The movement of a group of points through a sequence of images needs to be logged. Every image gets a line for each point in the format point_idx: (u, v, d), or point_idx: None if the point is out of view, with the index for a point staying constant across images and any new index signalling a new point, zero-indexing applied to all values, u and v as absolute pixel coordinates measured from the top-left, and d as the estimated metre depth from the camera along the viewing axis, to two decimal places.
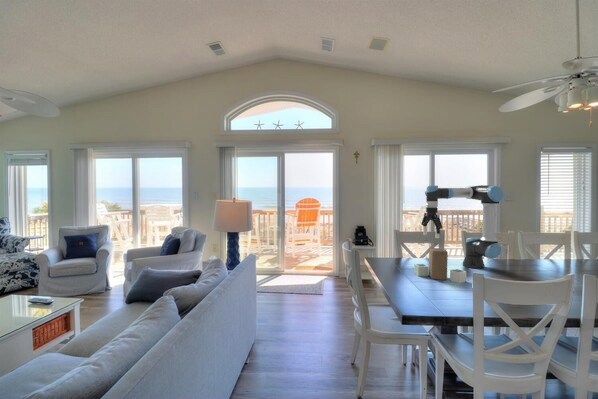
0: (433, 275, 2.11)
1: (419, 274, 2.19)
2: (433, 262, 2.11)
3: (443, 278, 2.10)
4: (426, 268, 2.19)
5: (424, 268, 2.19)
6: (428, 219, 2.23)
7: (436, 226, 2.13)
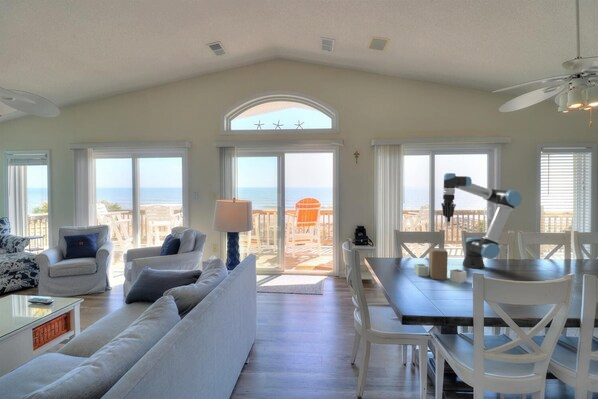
0: (433, 275, 2.11)
1: (419, 274, 2.19)
2: (433, 262, 2.11)
3: (443, 278, 2.10)
4: (426, 268, 2.19)
5: (424, 268, 2.19)
6: None
7: (447, 215, 2.25)
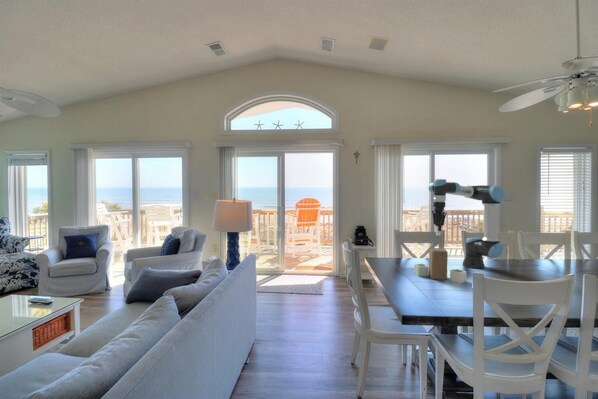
0: (433, 275, 2.11)
1: (419, 274, 2.19)
2: (433, 262, 2.11)
3: (443, 278, 2.10)
4: (426, 268, 2.19)
5: (424, 268, 2.19)
6: None
7: (438, 223, 2.12)
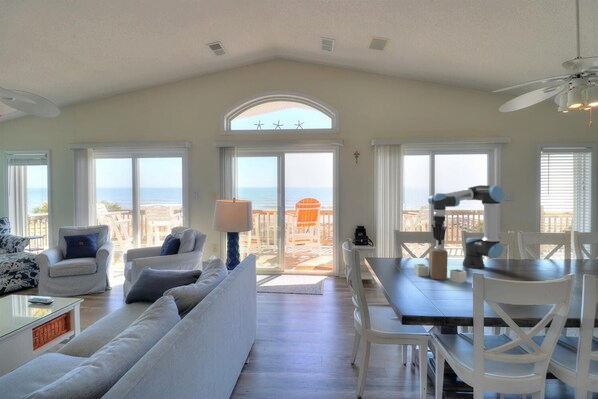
0: (433, 275, 2.11)
1: (419, 274, 2.19)
2: (433, 262, 2.11)
3: (443, 278, 2.10)
4: (426, 268, 2.19)
5: (424, 268, 2.19)
6: None
7: (438, 237, 2.12)
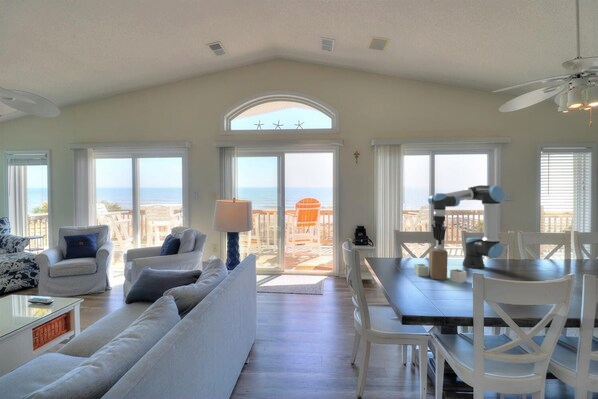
0: (433, 275, 2.11)
1: (419, 274, 2.19)
2: (433, 262, 2.11)
3: (443, 278, 2.10)
4: (426, 268, 2.19)
5: (424, 268, 2.19)
6: None
7: (438, 237, 2.12)
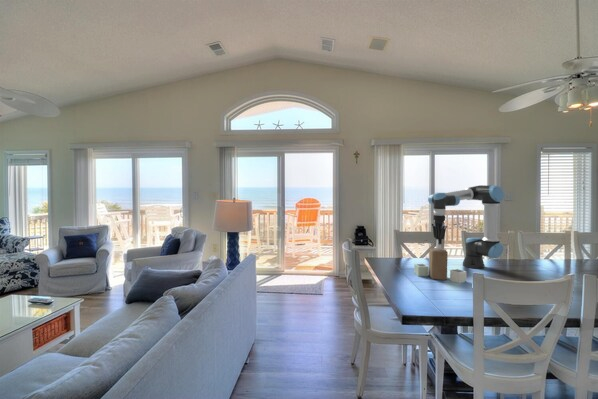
0: (433, 275, 2.11)
1: (419, 274, 2.19)
2: (433, 262, 2.11)
3: (443, 278, 2.10)
4: (426, 268, 2.19)
5: (424, 268, 2.19)
6: None
7: (438, 236, 2.12)
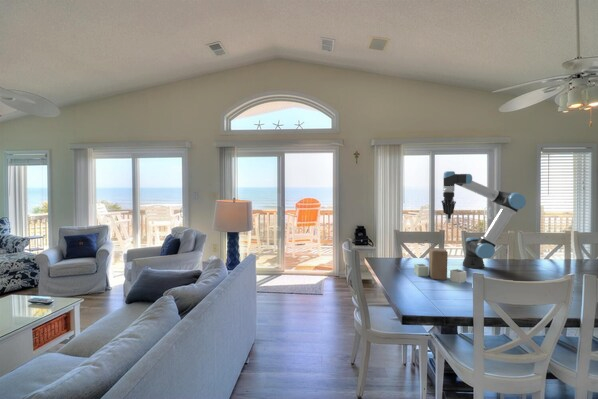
0: (433, 275, 2.11)
1: (419, 274, 2.19)
2: (433, 262, 2.11)
3: (443, 278, 2.10)
4: (426, 268, 2.19)
5: (424, 268, 2.19)
6: None
7: (448, 212, 2.31)
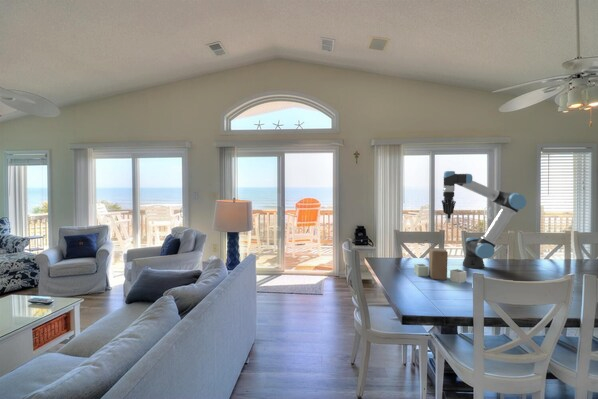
0: (433, 275, 2.11)
1: (419, 274, 2.19)
2: (433, 262, 2.11)
3: (443, 278, 2.10)
4: (426, 268, 2.19)
5: (424, 268, 2.19)
6: None
7: (448, 211, 2.32)
